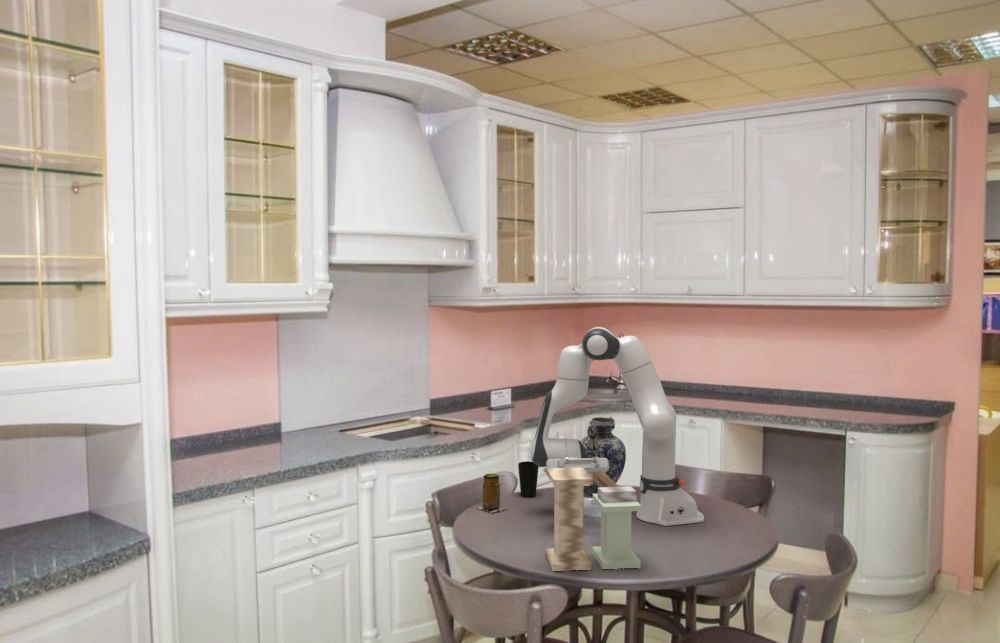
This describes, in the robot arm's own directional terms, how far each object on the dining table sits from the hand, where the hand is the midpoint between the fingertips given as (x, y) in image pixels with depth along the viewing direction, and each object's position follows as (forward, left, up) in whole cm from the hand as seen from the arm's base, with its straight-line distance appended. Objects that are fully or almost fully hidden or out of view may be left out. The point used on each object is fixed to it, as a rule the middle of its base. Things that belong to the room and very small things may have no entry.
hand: (581, 459), depth 248 cm
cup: (+10, -45, -25) cm, 52 cm away
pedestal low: (-5, +23, -24) cm, 34 cm away
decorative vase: (-18, -47, -25) cm, 56 cm away
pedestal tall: (+9, +23, -24) cm, 34 cm away
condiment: (+25, -30, -25) cm, 46 cm away
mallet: (-5, +13, -6) cm, 16 cm away
